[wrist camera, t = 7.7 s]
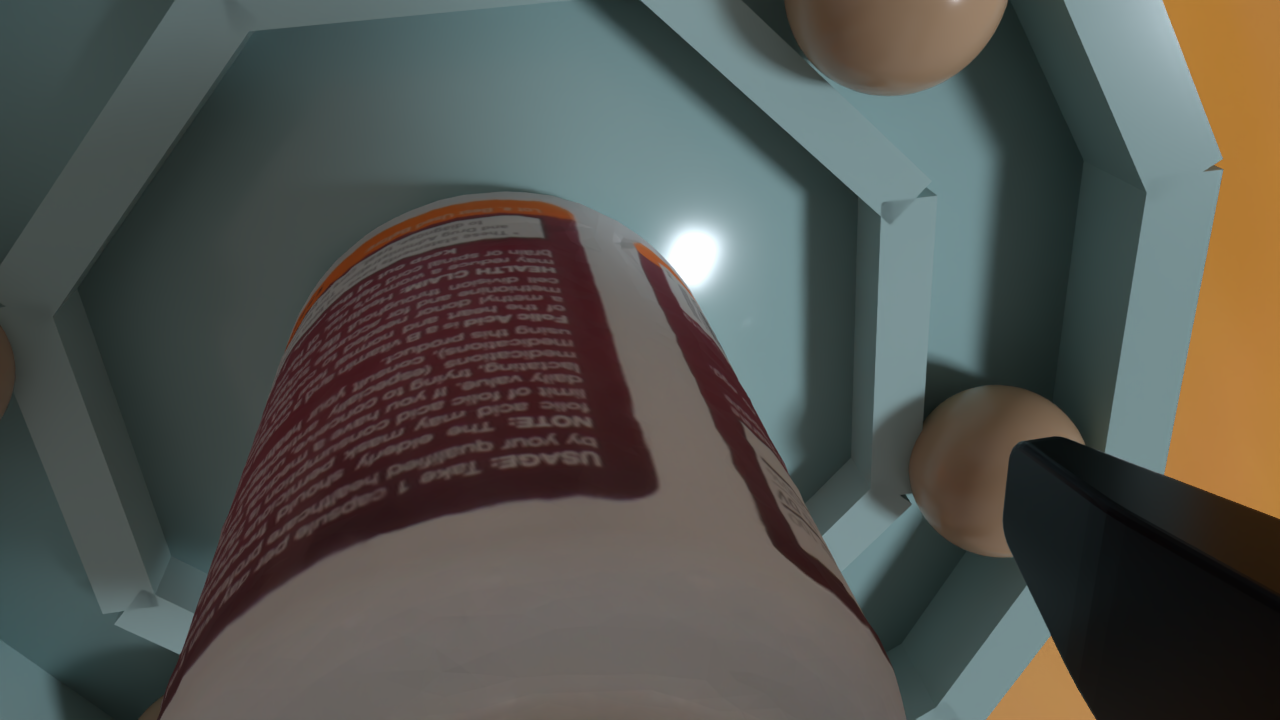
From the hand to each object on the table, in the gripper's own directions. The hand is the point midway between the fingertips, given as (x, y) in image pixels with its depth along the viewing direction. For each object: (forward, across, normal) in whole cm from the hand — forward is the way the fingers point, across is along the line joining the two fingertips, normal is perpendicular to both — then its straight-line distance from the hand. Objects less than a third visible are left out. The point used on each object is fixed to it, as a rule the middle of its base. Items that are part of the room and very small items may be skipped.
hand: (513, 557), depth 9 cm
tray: (+4, 0, 0) cm, 4 cm away
